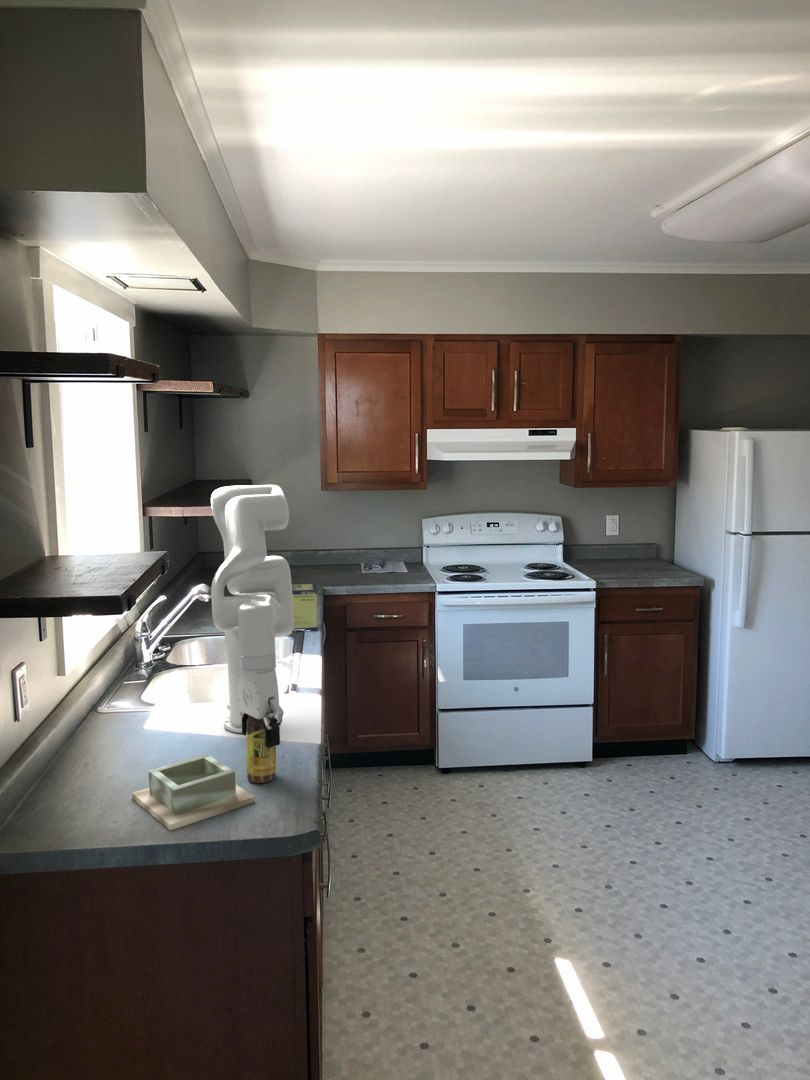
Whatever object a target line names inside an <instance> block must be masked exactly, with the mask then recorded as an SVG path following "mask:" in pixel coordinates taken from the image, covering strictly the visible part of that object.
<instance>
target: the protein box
mask: <svg viewBox="0 0 810 1080" xmlns="http://www.w3.org/2000/svg"><path fill="white" fill-rule="evenodd" d="M292 597H293V610H294V628H293V629H305V630H311V631H310V632H318V623H319V622H318V589H317V584H316V583H306V584H303V583H301V584H292Z"/></svg>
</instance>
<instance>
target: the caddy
mask: <svg viewBox="0 0 810 1080" xmlns="http://www.w3.org/2000/svg"><path fill="white" fill-rule="evenodd" d="M147 772H148V784H149V785H148V787H147V788H144V789H141V790H140V789H139V790H137V791H133V792H131V799H132V798H133V799H132V800H134V801H135V802H136V803H137V804H138V805H139V806H140V807H142V808H143V809H144V810H145V811H146V812H147V813H149V814H150V815H151V816H152V817H153V818H155V819H156V820H157V821H159V823H161V824H162V825H163V826H164V827H165V828H166V829H168V830H169V831H173V830H176V829H179V828H182V827H186V826H188V825H191V824H193V823H197V822H200V821H203V820H206V819H208V818H212V817H214V816H217V815H221V814H223V813H227V812H229V811H232V810H235V809H239V808H241V807H245V806H248V805H250V803H251V804H254V803H255V796H254V795H253V794H252V793H250V792H248V791H247V790H245V789H244V788H242V787H241V786H239V785H238V784H236V771H235V770H233V769H232V768H231V767H228V766H227V765H225V764H224V763H222V762H221V761H219V760H218V759H216V758H214V757H213V756H212V755H210V754H208V753H206V754H203V755H199V756H195V757H191V758H189V759H185V760H182V761H178V762H174V763H171V764H167V765H163V766H160V767H157V768H156V767H155V768H153V769H150V770H148V771H147ZM253 802H254V803H253Z"/></svg>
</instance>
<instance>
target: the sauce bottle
mask: <svg viewBox="0 0 810 1080" xmlns="http://www.w3.org/2000/svg"><path fill="white" fill-rule="evenodd" d="M267 714H269V712H268V713H267ZM272 719H273V717H271V718H269V721H270V722H271V721H272ZM265 729H267V727H266V725H265V722H264V720H263V718H262V719H256V718H254V717H252V716H250V715H249V716H248V719H247V731H246V735H245V737H246V739H245V742H246V748H245V749H246V750H245V751H246V752H245V753H246V754H245V755H246V757H245V760H246V764H245V765H246V769H245V770H246V778H247V780H248V781H249V782H251V783H255V784H262V783H263V784H264V783H269V782H271V781H272V780H274V779H275V776H276V771H277V751H276V749H277V748H276V747H277V746H273V747H270V748H267V747H266V746H265Z"/></svg>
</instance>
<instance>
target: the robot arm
mask: <svg viewBox="0 0 810 1080" xmlns="http://www.w3.org/2000/svg"><path fill="white" fill-rule="evenodd" d="M210 504H211V505H210V506H211V512H212V515H213V520H214V522H215V524H216V526H217V528H218V530H219V532H220V535H221V539H222V542H223V543H222V544H223V551H224V552H223V554H224V555H223V556H224V561H223V563H222V564H221V565H220V566H219V568H218V569H217V571H216V572H215V573H214V577H213V578H212V583H211V589H210V595H211V597H210V598H211V613H212V614H211V615H212V620H213V625H214V626H215V628H216V630H218V631H220V632H223V633H224V637H225V645H226V656H227V676H228V699H229V703H228V704H227V705H226V709H227V710H229V716H228V717H227V718H226V719H224V722H223V727H224V729H225V730H227V731H229V732H232V733H236V734H242V735H243V736H246V731H247V719H248V716H249V715H250V716H252V717H254V718H256V719H262V718H263V720H264V722H265V725H266V727H267V729H265V746H266V747H267V748H270V747H273V746H276V747H277V746H279V745H280V744H281V733H280V730H281V729H280V728H281V726H282V723H283V716H284V713H285V712H284V710H283V709H282V707H281V706H280V697H279V685H278V678H277V672H276V668H277V660H276V659H277V658H276V657H277V654H276V638H284V637H287V636H290V635H291V634H292V633H293V632H292V631H293V628H294V610H293V597H292V585H293V584H292V574H291V568H290V564H289V562H288V561H287V559H286V558H284V557H283V556H279V555H268V554H267V553H268V552H267V551H268V550H267V543H266V536H265V535H266V534H265V531H280V530H284V529H286V528H287V526H288V524H289V521H290V520H289V519H290V511H289V504H288V501H287V499H286V496H285V494H284V492H283V490H282V488H281V487H280V486H278V485H277V484H260V485H258V484H257V485H255V484H254V485H229V486H222V487H219V488H217V489H215V490H214V491H213V492H212V494H211V497H210ZM225 587H227V590H228V592H229V593H230V594H232V595H233V596H225ZM268 712H269V714H267V713H268ZM271 717H273V719H272V721H271V722H270V721H269V718H271Z"/></svg>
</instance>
